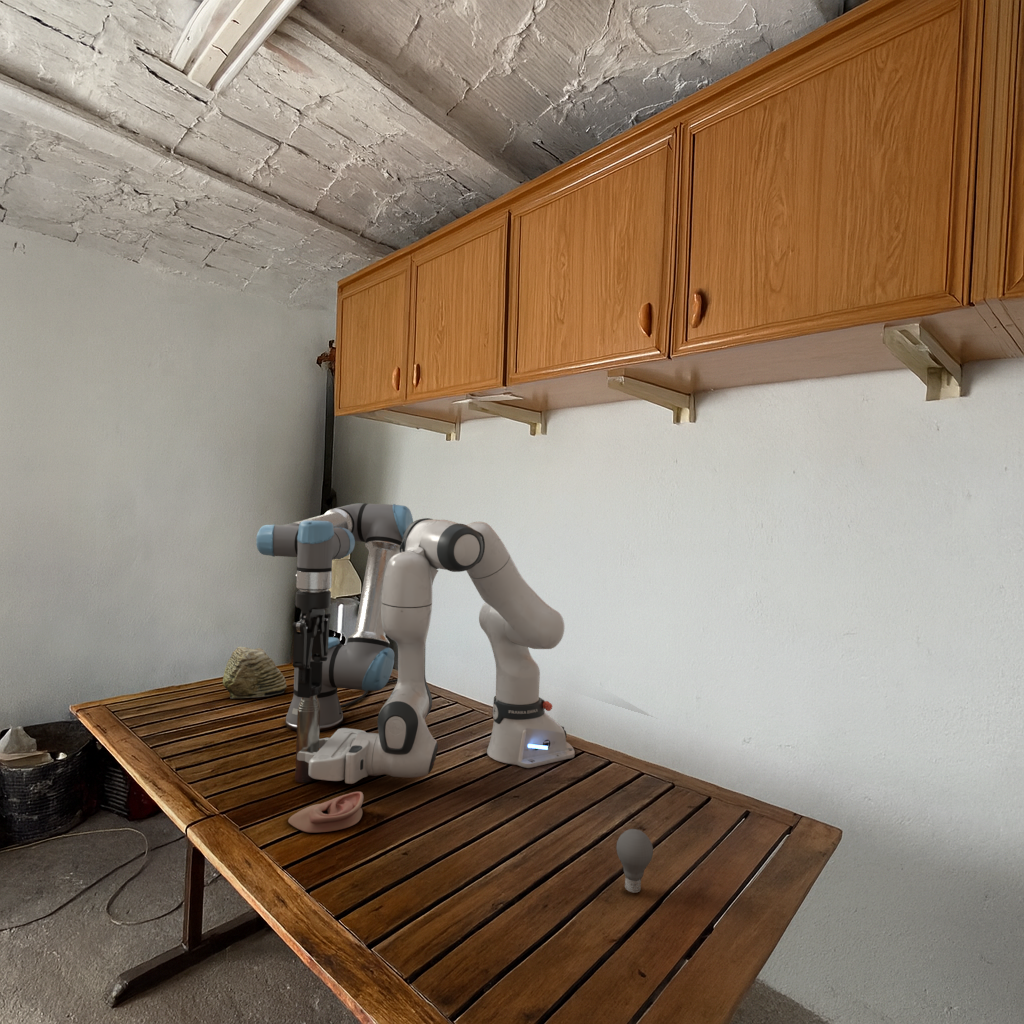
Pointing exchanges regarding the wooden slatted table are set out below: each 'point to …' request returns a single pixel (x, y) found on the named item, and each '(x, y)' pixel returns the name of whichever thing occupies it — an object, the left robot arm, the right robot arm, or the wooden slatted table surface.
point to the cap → (315, 688)
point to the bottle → (307, 734)
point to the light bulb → (634, 857)
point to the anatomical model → (329, 814)
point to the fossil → (252, 674)
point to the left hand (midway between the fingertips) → (309, 693)
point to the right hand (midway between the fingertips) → (303, 749)
